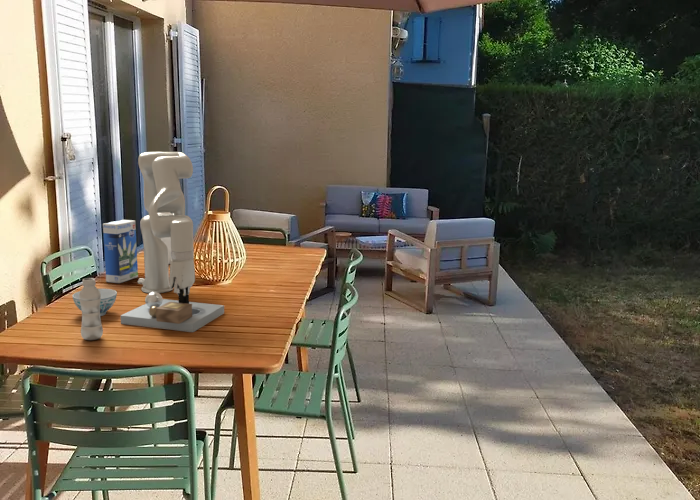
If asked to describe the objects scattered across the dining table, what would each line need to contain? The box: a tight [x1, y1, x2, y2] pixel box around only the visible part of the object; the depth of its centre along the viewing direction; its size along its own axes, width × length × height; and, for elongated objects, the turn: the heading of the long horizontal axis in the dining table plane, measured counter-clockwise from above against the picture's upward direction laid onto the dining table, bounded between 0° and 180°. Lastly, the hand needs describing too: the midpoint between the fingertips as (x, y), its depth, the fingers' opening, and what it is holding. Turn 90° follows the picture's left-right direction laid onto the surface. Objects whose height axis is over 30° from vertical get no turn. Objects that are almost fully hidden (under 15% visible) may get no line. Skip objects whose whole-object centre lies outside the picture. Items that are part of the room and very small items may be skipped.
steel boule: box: [144, 292, 164, 308], centre depth 232 cm, size 6×6×6 cm
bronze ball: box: [149, 306, 158, 317], centre depth 222 cm, size 4×4×4 cm
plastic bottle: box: [79, 277, 104, 341], centre depth 206 cm, size 6×7×20 cm
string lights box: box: [102, 219, 139, 284], centre depth 282 cm, size 13×8×26 cm, turn 161°
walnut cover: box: [156, 302, 192, 324], centre depth 219 cm, size 9×9×5 cm
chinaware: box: [71, 288, 118, 317], centre depth 233 cm, size 15×15×8 cm
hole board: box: [120, 298, 225, 333], centre depth 231 cm, size 28×23×3 cm
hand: (183, 305), depth 226 cm, fingers closed
